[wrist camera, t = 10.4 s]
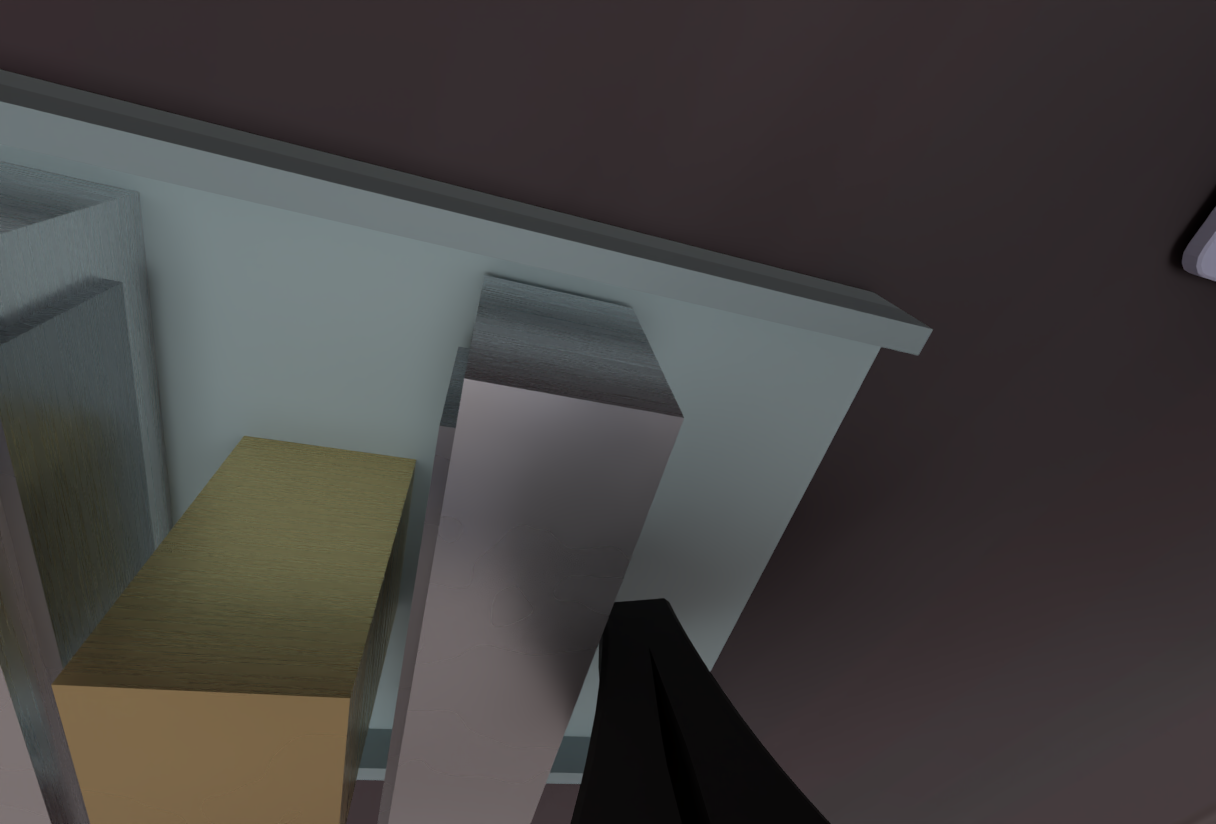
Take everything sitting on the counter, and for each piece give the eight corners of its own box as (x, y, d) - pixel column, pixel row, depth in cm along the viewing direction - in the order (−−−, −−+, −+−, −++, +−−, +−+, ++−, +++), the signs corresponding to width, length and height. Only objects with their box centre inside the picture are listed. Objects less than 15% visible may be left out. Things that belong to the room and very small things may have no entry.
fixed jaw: (154, 195, 8) (-98, 278, 5) (200, 709, 14) (94, 917, 10) (-75, 144, 8) (-543, 199, 4) (67, 703, 13) (-93, 923, 10)
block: (416, 459, 11) (349, 698, 7) (398, 605, 13) (335, 865, 9) (243, 435, 11) (51, 685, 6) (249, 593, 12) (104, 870, 8)
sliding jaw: (632, 308, 10) (684, 417, 7) (504, 733, 15) (499, 904, 12) (472, 272, 9) (444, 374, 6) (397, 729, 15) (362, 909, 12)
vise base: (873, 292, 12) (932, 328, 10) (662, 718, 18) (676, 785, 16) (-32, 60, 8) (-178, 57, 7) (100, 691, 15) (44, 773, 13)
